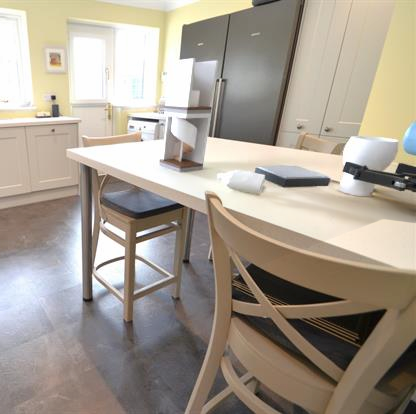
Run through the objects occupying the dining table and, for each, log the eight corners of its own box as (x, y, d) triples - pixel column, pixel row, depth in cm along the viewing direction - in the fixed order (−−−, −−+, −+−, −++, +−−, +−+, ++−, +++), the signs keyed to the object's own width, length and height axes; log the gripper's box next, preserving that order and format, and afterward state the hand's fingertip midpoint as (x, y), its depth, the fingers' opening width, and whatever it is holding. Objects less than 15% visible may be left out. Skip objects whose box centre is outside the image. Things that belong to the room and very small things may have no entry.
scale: (295, 173, 99) (298, 165, 97) (330, 185, 86) (334, 176, 85) (253, 174, 96) (255, 165, 95) (283, 187, 84) (286, 177, 82)
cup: (338, 195, 78) (358, 140, 72) (325, 184, 87) (342, 134, 81) (387, 201, 74) (412, 143, 68) (368, 189, 83) (388, 137, 78)
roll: (218, 183, 86) (221, 165, 84) (261, 191, 80) (266, 172, 78) (212, 188, 81) (215, 169, 79) (258, 197, 75) (263, 176, 73)
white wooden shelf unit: (159, 164, 107) (168, 61, 94) (181, 162, 111) (193, 63, 98) (179, 172, 98) (193, 58, 84) (202, 169, 102) (218, 60, 89)
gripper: (388, 209, 57) (319, 179, 77) (517, 213, 56) (414, 182, 76) (403, 173, 55) (328, 152, 74) (539, 177, 54) (426, 154, 73)
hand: (371, 167), depth 75 cm, fingers open, 13 cm apart
